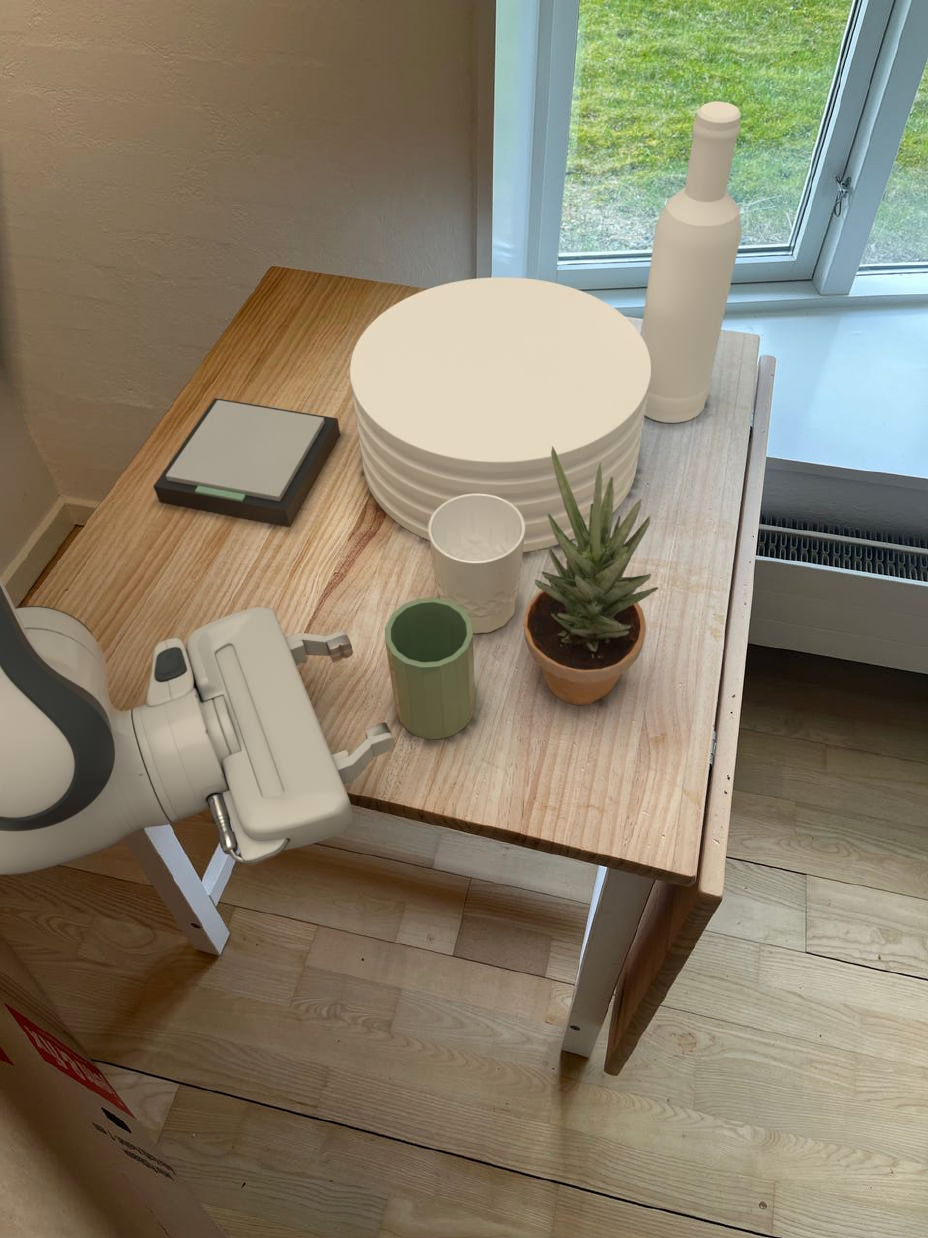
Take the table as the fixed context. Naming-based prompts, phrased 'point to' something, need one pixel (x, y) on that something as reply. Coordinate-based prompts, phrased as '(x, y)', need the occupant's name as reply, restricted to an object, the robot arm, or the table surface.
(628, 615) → the potted plant
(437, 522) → the white cup
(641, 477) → the table surface
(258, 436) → the scale
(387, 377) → the plate stack
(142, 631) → the table surface
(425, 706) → the tumbler
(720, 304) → the bottle
